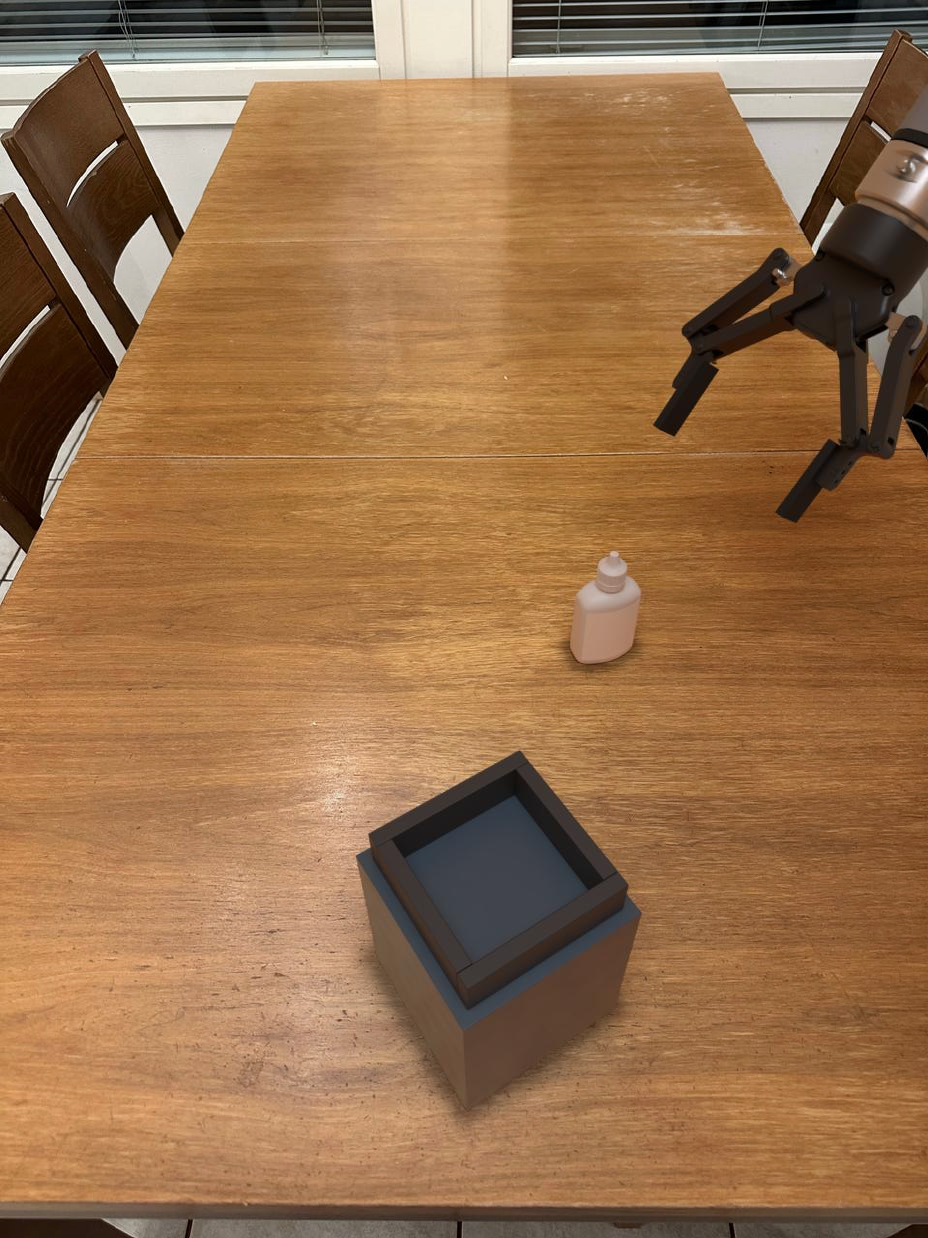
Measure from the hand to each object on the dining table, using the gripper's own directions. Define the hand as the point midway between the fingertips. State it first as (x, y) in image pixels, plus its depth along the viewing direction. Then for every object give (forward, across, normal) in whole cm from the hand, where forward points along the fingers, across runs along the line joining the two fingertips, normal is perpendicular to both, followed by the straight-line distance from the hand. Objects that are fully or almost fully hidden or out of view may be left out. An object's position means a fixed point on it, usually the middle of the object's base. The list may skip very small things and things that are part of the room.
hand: (721, 472), depth 76 cm
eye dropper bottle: (+19, -2, +3) cm, 20 cm away
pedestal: (+35, +18, -17) cm, 43 cm away
